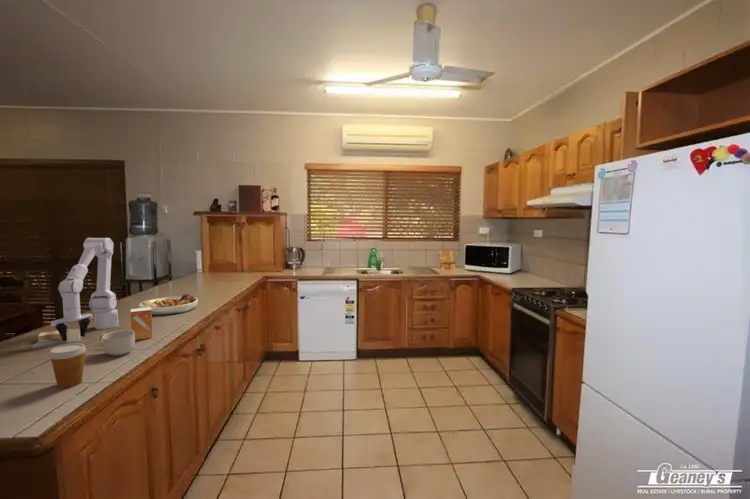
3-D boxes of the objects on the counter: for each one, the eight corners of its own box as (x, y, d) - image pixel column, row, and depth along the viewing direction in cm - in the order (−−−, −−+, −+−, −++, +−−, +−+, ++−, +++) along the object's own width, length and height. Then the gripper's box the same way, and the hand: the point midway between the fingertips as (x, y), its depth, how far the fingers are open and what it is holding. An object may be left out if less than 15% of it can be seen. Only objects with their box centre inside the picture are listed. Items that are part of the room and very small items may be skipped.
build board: (85, 333, 176) (85, 331, 176) (81, 343, 163) (81, 341, 163) (39, 339, 168) (39, 337, 168) (32, 350, 154) (31, 348, 154)
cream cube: (80, 337, 168) (80, 327, 167) (79, 340, 164) (79, 330, 164) (67, 339, 165) (67, 329, 165) (66, 342, 162) (65, 332, 161)
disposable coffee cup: (64, 378, 128) (62, 343, 127) (94, 377, 129) (92, 342, 128) (42, 390, 119) (40, 353, 118) (75, 390, 120) (73, 352, 119)
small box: (131, 341, 167) (130, 311, 166) (131, 337, 172) (129, 308, 171) (153, 338, 171) (151, 309, 170) (152, 334, 176) (150, 306, 175)
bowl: (166, 318, 204) (166, 304, 203) (127, 313, 215) (126, 299, 214) (209, 306, 232) (208, 294, 231) (172, 302, 243) (172, 290, 242)
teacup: (142, 350, 155) (141, 331, 155) (116, 359, 145) (115, 339, 144) (117, 346, 160) (116, 327, 159) (90, 355, 150) (89, 335, 149)
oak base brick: (65, 336, 170) (64, 329, 170) (63, 339, 165) (62, 333, 165) (41, 339, 166) (41, 332, 166) (38, 343, 161) (38, 336, 161)
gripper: (86, 303, 172) (87, 332, 173) (46, 309, 159) (48, 341, 160) (94, 304, 168) (96, 334, 170) (54, 312, 156) (57, 344, 157)
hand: (73, 338), depth 165 cm, fingers closed on cream cube, 6 cm apart
